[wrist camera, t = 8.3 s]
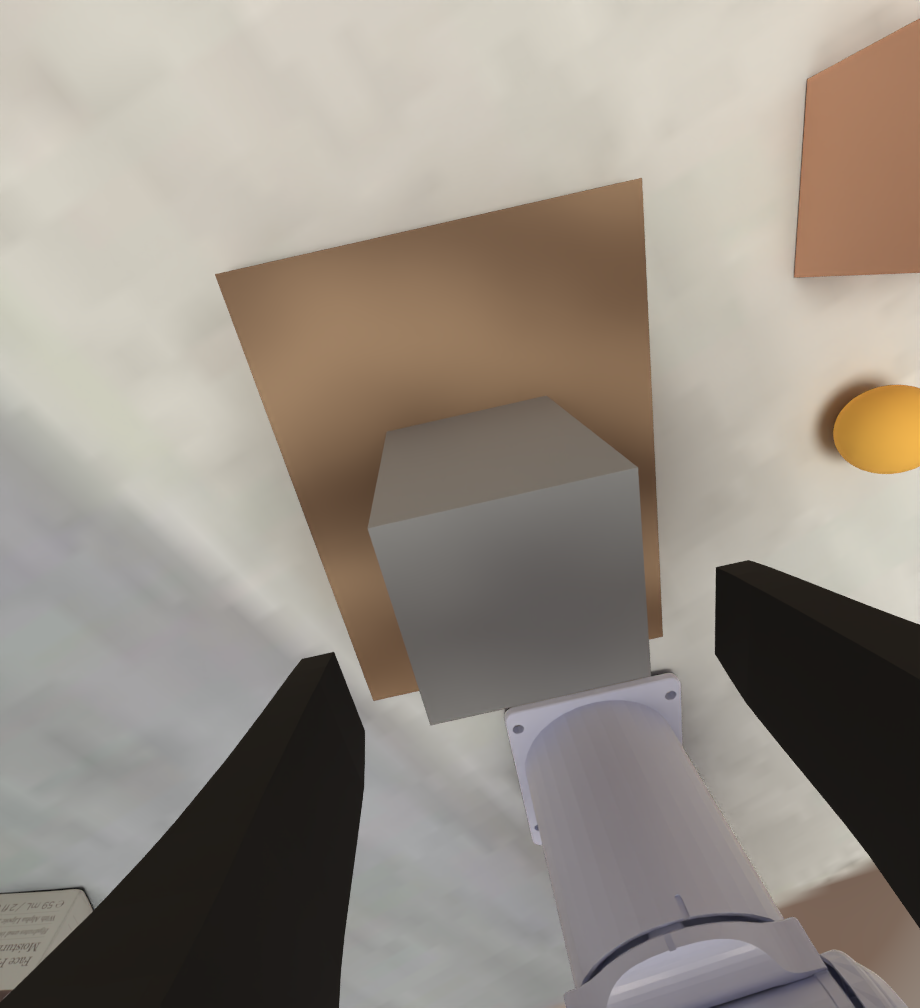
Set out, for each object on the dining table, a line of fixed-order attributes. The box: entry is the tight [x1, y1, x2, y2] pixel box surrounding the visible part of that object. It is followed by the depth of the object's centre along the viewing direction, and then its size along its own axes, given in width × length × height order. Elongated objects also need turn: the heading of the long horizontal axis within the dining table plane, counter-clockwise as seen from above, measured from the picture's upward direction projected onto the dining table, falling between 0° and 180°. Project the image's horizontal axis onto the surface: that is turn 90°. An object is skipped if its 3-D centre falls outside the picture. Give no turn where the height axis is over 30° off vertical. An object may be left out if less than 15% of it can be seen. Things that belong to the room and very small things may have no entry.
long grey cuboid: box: [368, 396, 651, 725], centre depth 13 cm, size 5×5×7 cm
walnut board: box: [215, 178, 663, 701], centre depth 17 cm, size 16×12×1 cm
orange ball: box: [833, 385, 920, 474], centre depth 17 cm, size 3×3×3 cm
